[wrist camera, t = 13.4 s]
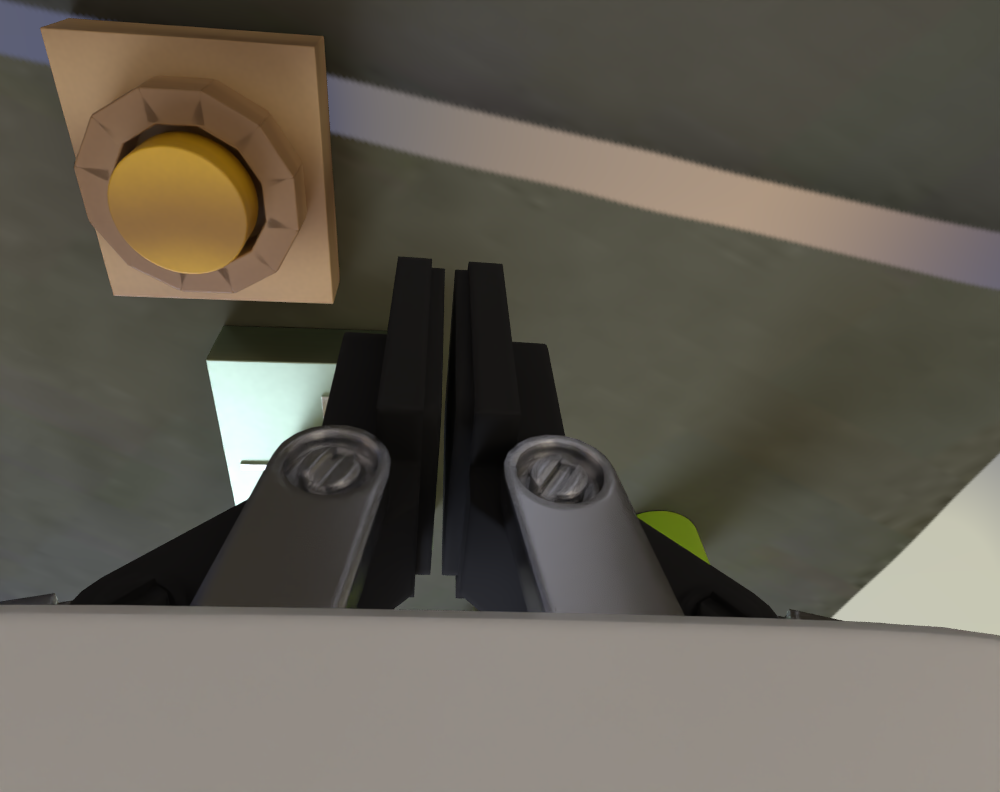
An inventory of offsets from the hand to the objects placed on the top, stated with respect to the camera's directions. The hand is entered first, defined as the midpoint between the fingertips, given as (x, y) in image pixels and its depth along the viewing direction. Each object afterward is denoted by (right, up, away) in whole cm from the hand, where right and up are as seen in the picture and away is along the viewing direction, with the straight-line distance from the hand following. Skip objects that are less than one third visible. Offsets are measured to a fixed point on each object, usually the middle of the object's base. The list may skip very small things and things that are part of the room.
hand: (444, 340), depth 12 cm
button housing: (-10, +8, +17) cm, 21 cm away
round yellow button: (-10, +6, +14) cm, 18 cm away
